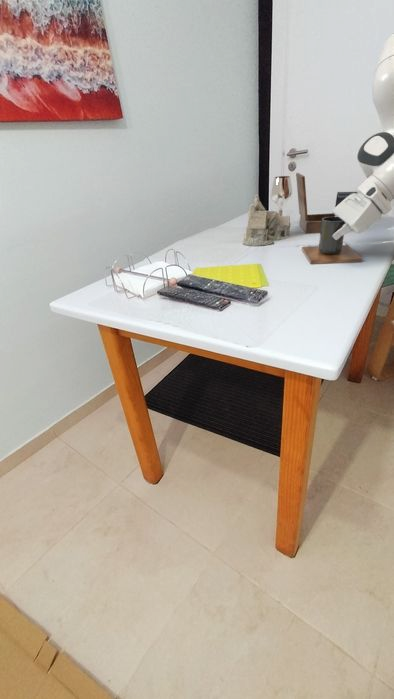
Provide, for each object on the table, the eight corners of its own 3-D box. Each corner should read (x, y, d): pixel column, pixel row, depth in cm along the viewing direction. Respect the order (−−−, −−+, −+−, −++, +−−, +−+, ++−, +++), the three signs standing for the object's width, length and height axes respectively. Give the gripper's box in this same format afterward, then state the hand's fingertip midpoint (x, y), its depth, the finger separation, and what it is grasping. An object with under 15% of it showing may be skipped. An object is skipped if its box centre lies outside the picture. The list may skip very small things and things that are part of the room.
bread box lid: (298, 172, 122) (295, 173, 122) (304, 176, 111) (302, 176, 111) (301, 213, 129) (299, 214, 129) (307, 220, 119) (305, 221, 119)
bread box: (335, 226, 131) (336, 212, 128) (344, 234, 120) (346, 220, 117) (299, 227, 132) (300, 215, 129) (305, 236, 121) (306, 222, 119)
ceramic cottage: (237, 244, 117) (240, 197, 110) (251, 234, 130) (255, 192, 122) (281, 250, 112) (288, 201, 104) (292, 239, 124) (299, 194, 116)
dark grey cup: (338, 246, 103) (342, 216, 98) (344, 253, 98) (349, 220, 93) (316, 247, 104) (319, 217, 99) (321, 254, 98) (325, 222, 93)
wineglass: (279, 230, 131) (282, 178, 122) (264, 227, 137) (266, 177, 128) (294, 226, 135) (298, 176, 125) (279, 223, 141) (282, 175, 131)
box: (332, 222, 136) (336, 193, 130) (333, 219, 140) (337, 191, 134) (354, 222, 133) (359, 193, 127) (353, 219, 137) (358, 191, 132)
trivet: (347, 247, 106) (347, 244, 106) (361, 262, 95) (362, 258, 94) (301, 250, 108) (301, 246, 107) (310, 264, 96) (310, 260, 96)
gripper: (353, 182, 100) (315, 219, 106) (379, 193, 82) (331, 235, 89) (366, 198, 101) (328, 233, 108) (393, 211, 84) (346, 251, 91)
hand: (330, 234), depth 98 cm, fingers closed on dark grey cup, 6 cm apart
